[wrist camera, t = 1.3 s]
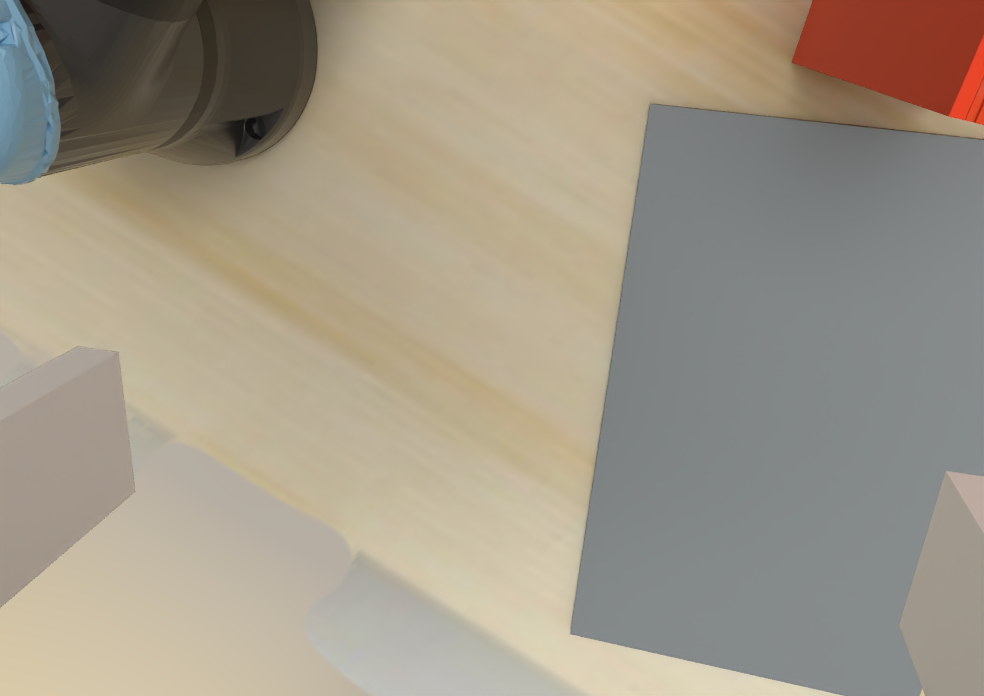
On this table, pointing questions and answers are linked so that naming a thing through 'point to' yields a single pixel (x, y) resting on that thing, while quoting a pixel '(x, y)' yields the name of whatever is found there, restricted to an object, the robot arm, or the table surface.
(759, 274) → the mat
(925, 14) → the file binder
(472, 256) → the table surface
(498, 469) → the table surface
